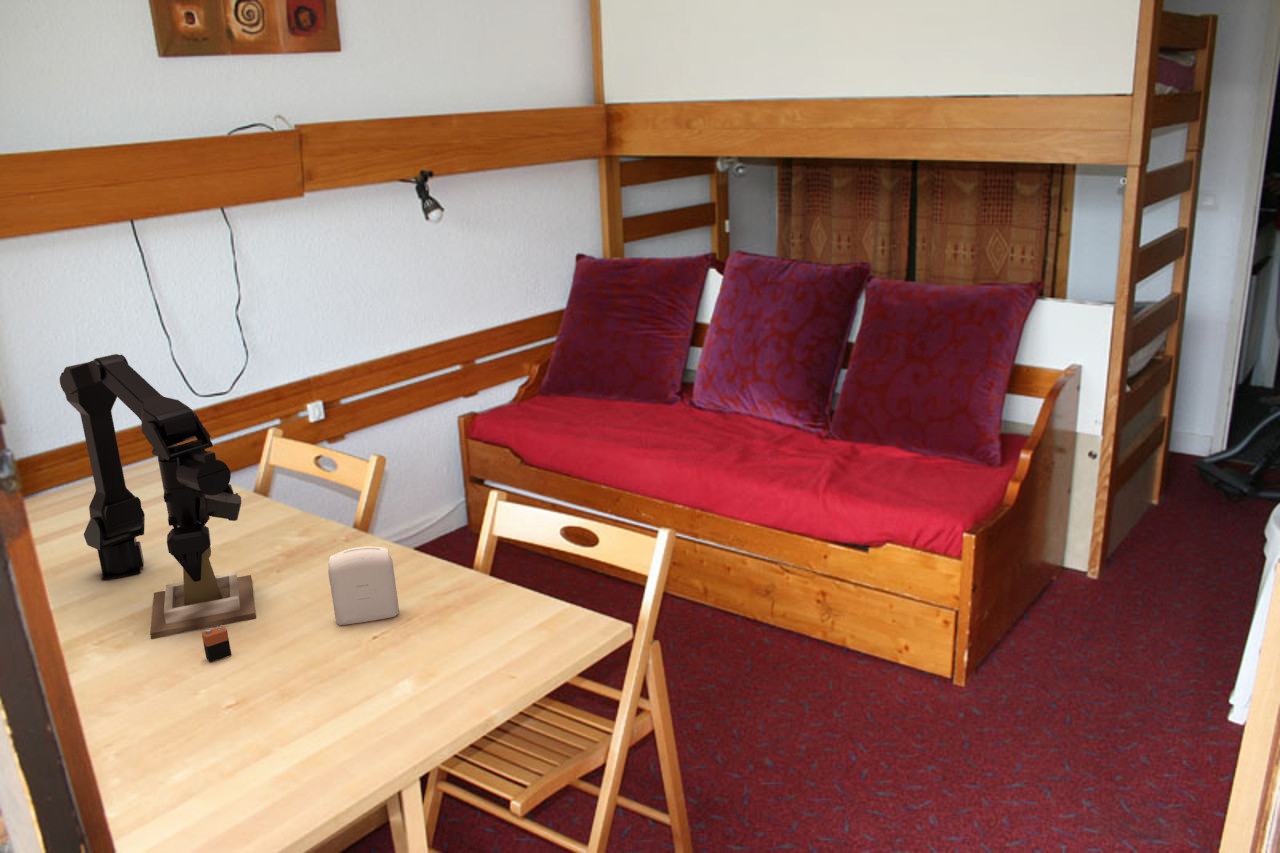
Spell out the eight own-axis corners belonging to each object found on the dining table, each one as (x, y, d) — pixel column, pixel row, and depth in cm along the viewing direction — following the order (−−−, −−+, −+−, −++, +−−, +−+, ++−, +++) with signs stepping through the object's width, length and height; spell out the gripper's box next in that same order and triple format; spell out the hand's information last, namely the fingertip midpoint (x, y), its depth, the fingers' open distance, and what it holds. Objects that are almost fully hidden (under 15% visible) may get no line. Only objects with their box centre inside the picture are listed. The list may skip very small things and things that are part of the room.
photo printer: (335, 628, 170) (325, 558, 166) (335, 616, 174) (326, 547, 170) (399, 618, 172) (391, 549, 169) (399, 607, 176) (391, 539, 173)
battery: (205, 658, 162) (200, 629, 161) (227, 650, 164) (222, 621, 163) (210, 663, 161) (204, 634, 159) (232, 655, 163) (227, 626, 161)
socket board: (151, 638, 169) (147, 622, 168) (154, 597, 183) (151, 582, 182) (256, 618, 175) (253, 601, 174) (251, 579, 189) (249, 564, 188)
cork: (228, 594, 181) (218, 535, 178) (212, 610, 176) (201, 550, 172) (194, 594, 182) (183, 535, 178) (177, 610, 176) (166, 550, 173)
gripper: (236, 493, 167) (250, 583, 171) (232, 458, 183) (246, 541, 188) (159, 505, 163) (176, 596, 167) (163, 468, 179) (178, 552, 184)
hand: (197, 570), depth 177 cm, fingers open, 9 cm apart
